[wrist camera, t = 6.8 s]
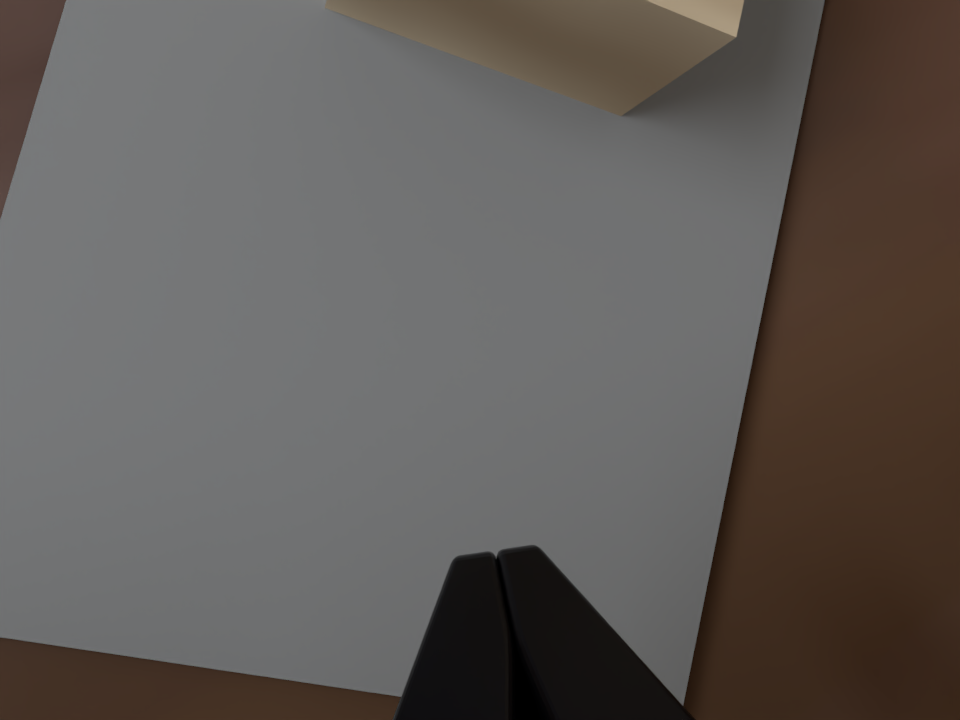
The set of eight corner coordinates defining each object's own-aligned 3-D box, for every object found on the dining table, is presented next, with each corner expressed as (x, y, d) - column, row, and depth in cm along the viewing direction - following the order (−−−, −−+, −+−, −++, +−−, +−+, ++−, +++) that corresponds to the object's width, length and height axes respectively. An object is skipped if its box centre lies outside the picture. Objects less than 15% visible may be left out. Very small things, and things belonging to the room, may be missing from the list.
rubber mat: (666, 729, 17) (676, 737, 17) (-110, 612, 14) (-120, 619, 13) (895, -402, 20) (909, -418, 20) (301, -764, 16) (303, -792, 16)
